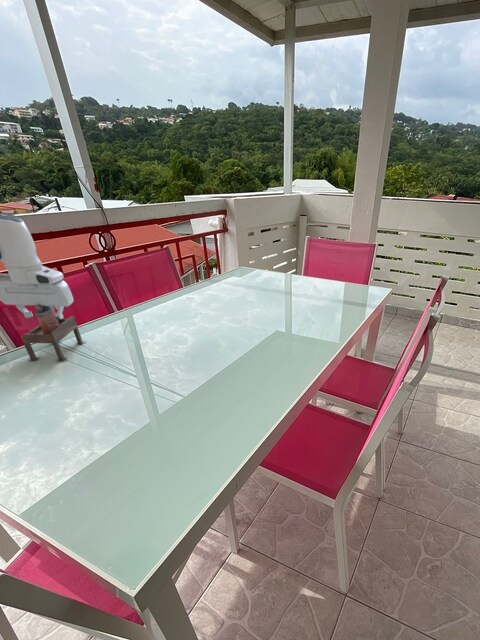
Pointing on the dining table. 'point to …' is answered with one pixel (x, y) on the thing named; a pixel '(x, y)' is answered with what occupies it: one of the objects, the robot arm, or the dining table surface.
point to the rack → (51, 336)
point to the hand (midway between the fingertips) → (44, 318)
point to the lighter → (46, 318)
